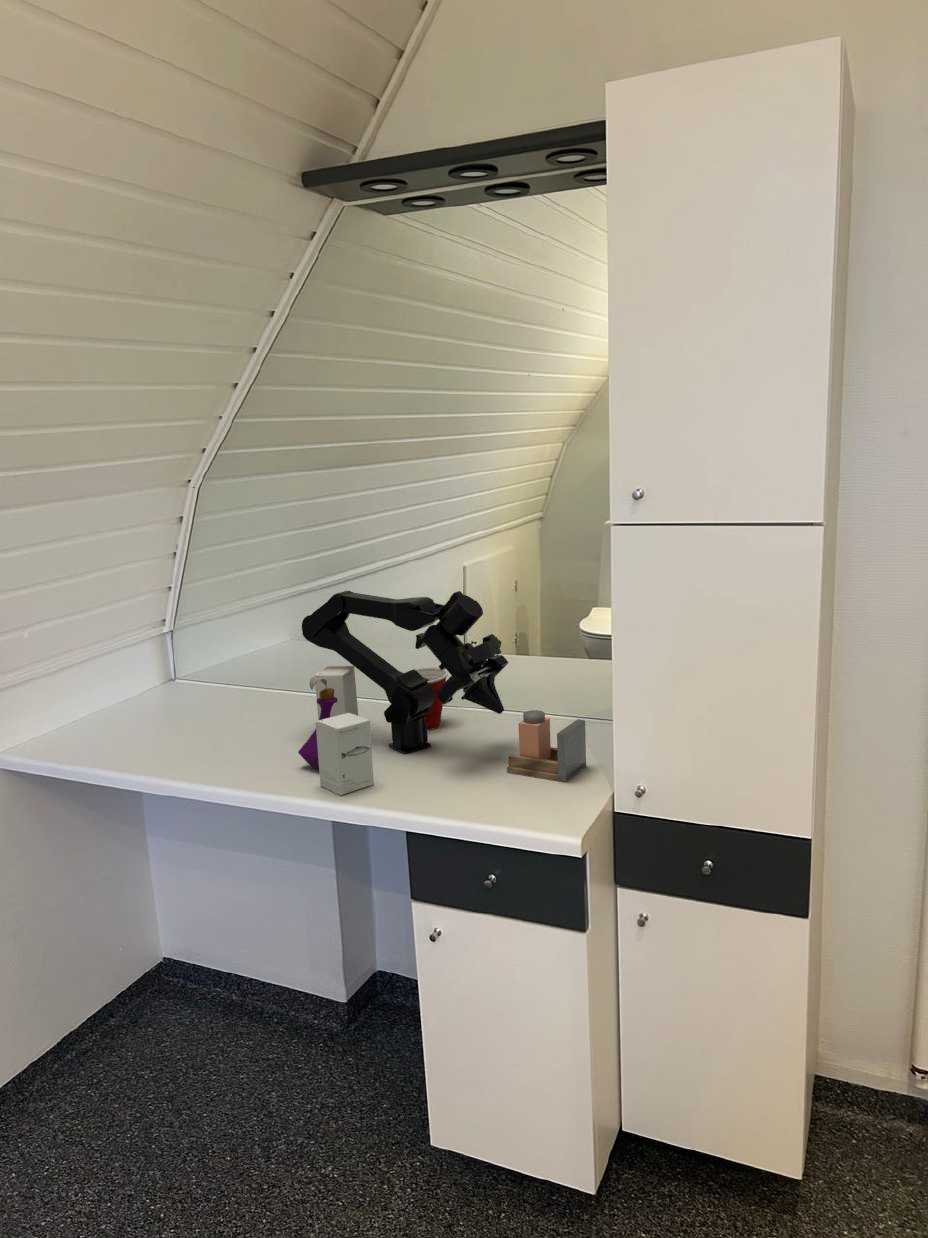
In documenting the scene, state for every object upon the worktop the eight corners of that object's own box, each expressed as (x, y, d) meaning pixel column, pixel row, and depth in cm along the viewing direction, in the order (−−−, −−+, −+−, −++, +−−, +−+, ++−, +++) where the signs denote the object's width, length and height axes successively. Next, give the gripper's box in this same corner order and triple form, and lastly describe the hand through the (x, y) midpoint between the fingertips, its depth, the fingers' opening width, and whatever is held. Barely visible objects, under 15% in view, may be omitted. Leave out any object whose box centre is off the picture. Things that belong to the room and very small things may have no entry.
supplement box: (340, 796, 167) (335, 729, 164) (319, 786, 172) (313, 720, 170) (375, 785, 171) (370, 719, 169) (353, 775, 177) (348, 711, 174)
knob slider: (519, 764, 175) (518, 716, 173) (532, 755, 179) (530, 708, 178) (539, 767, 173) (537, 718, 171) (550, 758, 177) (549, 711, 175)
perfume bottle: (327, 756, 188) (320, 669, 184) (353, 764, 183) (347, 674, 179) (298, 768, 182) (291, 678, 179) (324, 775, 177) (317, 683, 174)
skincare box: (348, 749, 192) (343, 675, 189) (318, 748, 193) (312, 675, 190) (361, 735, 200) (356, 664, 197) (331, 735, 201) (326, 664, 198)
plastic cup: (391, 727, 205) (387, 674, 202) (429, 715, 212) (426, 664, 209) (422, 737, 197) (419, 682, 194) (461, 725, 204) (458, 672, 201)
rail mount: (507, 772, 175) (505, 726, 173) (529, 757, 182) (527, 712, 180) (565, 782, 168) (564, 734, 167) (586, 766, 176) (585, 720, 174)
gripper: (448, 634, 170) (503, 699, 166) (498, 614, 185) (549, 674, 182) (414, 672, 175) (467, 736, 172) (465, 650, 191) (515, 708, 187)
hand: (502, 712), depth 178 cm, fingers closed
